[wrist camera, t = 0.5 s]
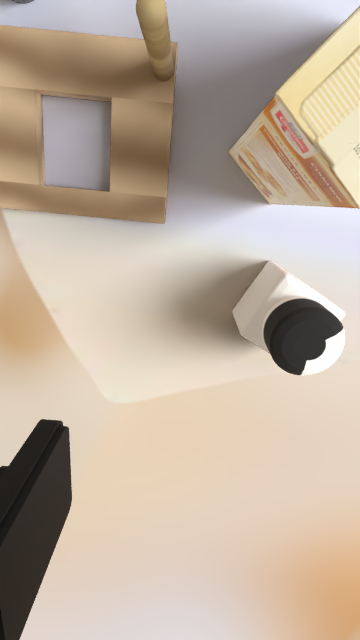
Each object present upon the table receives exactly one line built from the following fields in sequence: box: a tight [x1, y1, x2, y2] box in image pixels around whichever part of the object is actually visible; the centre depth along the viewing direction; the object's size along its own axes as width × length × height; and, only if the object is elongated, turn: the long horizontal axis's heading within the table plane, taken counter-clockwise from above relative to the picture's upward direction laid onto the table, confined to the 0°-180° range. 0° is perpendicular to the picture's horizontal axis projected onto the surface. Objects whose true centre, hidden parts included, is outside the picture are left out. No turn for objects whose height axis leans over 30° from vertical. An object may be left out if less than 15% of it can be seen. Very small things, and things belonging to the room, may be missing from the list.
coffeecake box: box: [228, 6, 360, 209], centre depth 23 cm, size 15×7×20 cm, turn 133°
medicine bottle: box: [232, 261, 345, 375], centre depth 32 cm, size 7×7×12 cm
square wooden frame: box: [0, 0, 178, 224], centre depth 27 cm, size 17×18×12 cm
